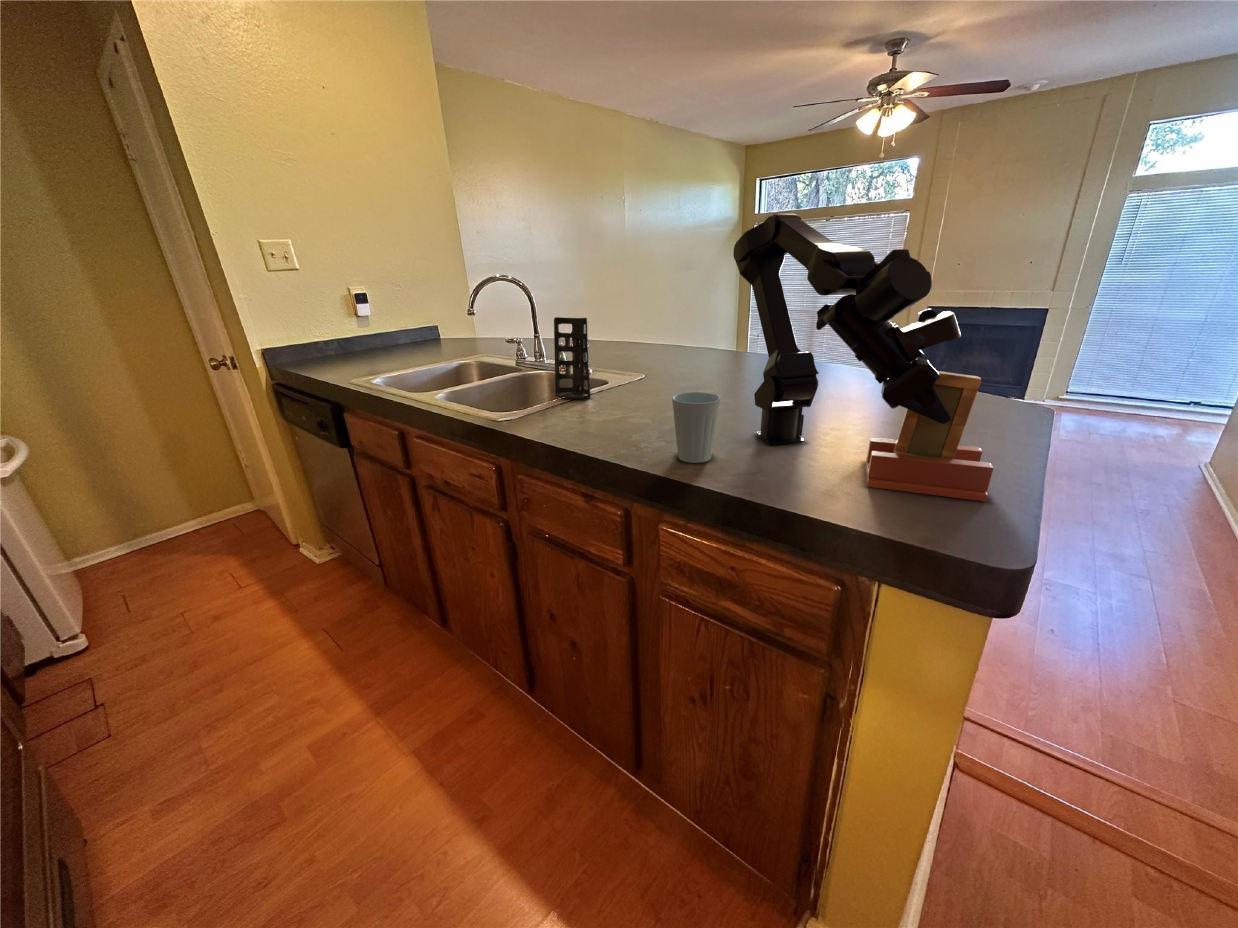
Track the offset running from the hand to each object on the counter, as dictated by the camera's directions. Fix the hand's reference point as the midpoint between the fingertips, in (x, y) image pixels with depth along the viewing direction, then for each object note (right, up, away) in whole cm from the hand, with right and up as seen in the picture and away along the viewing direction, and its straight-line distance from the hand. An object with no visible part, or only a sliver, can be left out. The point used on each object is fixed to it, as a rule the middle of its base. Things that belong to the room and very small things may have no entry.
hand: (945, 418), depth 65 cm
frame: (-2, -6, +3) cm, 7 cm away
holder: (-56, +11, +60) cm, 83 cm away
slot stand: (-1, -9, +4) cm, 10 cm away
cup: (-32, -5, +16) cm, 36 cm away
